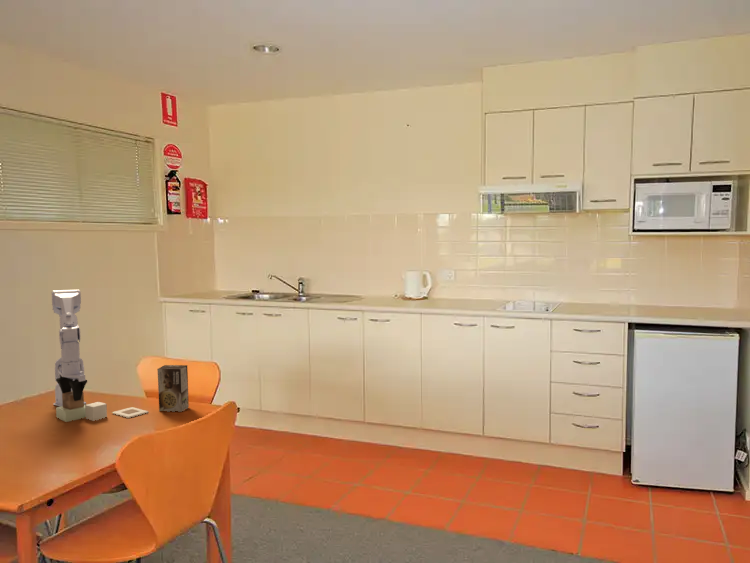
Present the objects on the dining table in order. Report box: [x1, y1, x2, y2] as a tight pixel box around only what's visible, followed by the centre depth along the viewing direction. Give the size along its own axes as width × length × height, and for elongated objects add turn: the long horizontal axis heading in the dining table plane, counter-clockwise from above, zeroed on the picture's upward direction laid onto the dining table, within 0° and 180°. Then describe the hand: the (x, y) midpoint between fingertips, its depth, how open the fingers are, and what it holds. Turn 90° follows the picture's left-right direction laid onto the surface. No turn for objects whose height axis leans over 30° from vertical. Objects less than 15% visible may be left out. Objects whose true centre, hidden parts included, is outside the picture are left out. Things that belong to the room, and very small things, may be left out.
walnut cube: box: [62, 391, 85, 410], centre depth 210 cm, size 5×5×5 cm
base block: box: [55, 404, 86, 423], centre depth 210 cm, size 8×8×4 cm
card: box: [111, 406, 149, 419], centre depth 214 cm, size 10×8×1 cm
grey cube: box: [84, 401, 108, 422], centre depth 209 cm, size 5×5×5 cm
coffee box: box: [157, 364, 190, 413], centre depth 219 cm, size 9×6×16 cm
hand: (72, 398), depth 210 cm, fingers open, 6 cm apart
